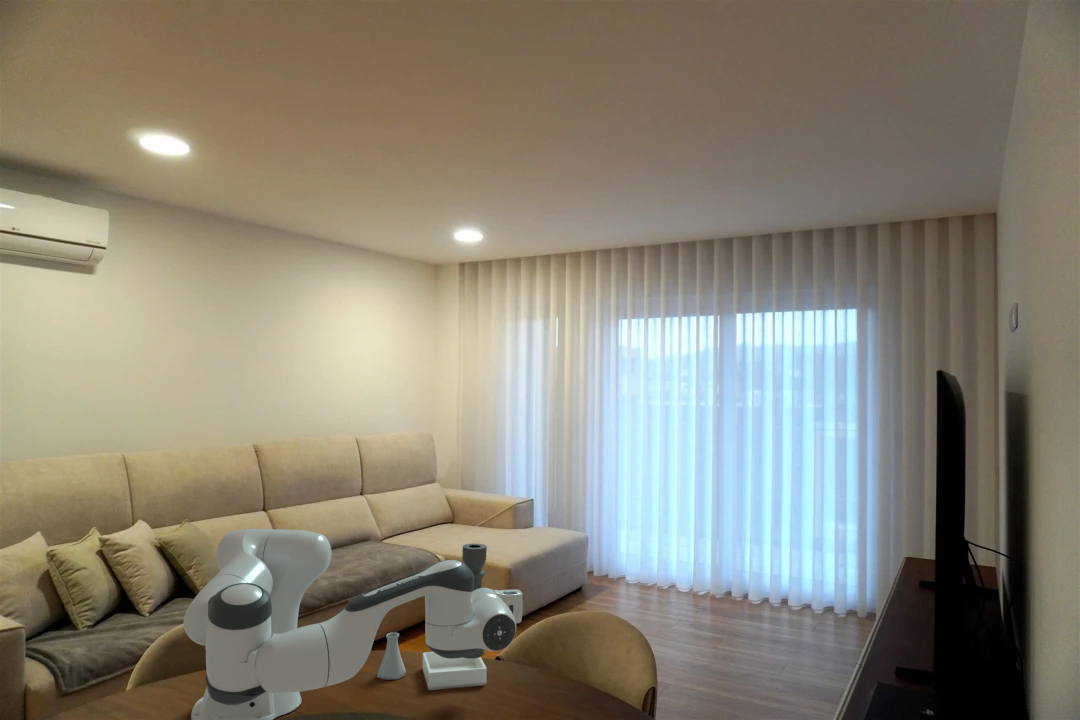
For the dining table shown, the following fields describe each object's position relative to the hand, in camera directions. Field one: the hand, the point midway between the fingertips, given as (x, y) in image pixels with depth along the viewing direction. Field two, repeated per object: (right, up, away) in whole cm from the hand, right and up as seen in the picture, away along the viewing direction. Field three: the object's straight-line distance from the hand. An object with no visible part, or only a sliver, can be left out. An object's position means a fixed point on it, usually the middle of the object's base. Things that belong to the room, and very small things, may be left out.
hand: (472, 593), depth 165 cm
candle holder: (0, -14, -1) cm, 14 cm away
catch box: (-6, -24, +10) cm, 27 cm away
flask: (-21, -24, +10) cm, 34 cm away
